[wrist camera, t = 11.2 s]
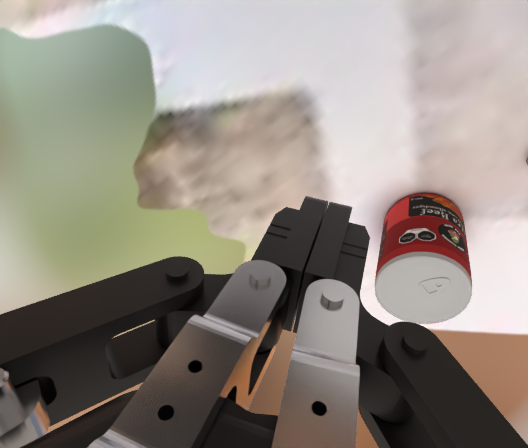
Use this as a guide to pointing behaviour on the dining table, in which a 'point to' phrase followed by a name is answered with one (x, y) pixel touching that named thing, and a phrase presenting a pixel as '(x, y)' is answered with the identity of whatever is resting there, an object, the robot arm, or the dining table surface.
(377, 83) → the dining table surface
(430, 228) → the canned food
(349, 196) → the dining table surface
